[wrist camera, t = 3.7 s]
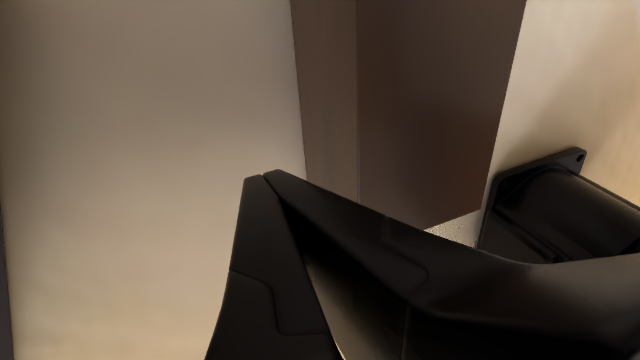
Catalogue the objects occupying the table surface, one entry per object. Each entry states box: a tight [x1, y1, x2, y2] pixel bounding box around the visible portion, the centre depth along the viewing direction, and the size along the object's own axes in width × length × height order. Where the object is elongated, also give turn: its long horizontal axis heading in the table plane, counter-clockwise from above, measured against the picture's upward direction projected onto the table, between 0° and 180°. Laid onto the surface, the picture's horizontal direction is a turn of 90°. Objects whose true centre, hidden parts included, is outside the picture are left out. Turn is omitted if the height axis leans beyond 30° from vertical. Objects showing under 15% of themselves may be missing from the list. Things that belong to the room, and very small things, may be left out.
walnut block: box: [290, 0, 527, 230], centre depth 13 cm, size 5×8×4 cm, turn 3°
